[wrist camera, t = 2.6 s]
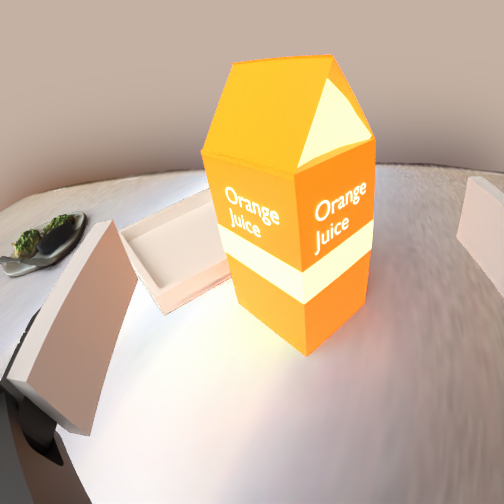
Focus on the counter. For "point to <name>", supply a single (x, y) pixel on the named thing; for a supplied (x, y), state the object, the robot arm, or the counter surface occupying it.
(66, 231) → the salad plate
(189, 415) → the counter surface
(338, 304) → the orange juice
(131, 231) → the tray
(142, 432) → the counter surface
